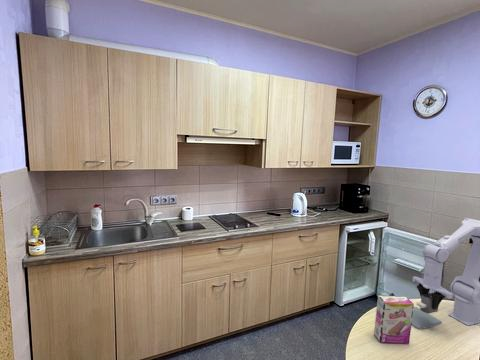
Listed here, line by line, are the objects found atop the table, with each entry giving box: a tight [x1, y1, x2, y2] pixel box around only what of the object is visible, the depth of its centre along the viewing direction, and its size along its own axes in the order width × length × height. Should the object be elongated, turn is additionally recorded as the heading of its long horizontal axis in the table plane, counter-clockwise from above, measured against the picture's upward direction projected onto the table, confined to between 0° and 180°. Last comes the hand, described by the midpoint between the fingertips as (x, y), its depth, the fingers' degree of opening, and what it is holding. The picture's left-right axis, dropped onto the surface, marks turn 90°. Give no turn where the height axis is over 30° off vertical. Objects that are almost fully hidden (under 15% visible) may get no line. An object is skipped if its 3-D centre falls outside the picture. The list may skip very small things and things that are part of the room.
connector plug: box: [416, 292, 439, 314], centre depth 103 cm, size 10×4×6 cm, turn 109°
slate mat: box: [411, 306, 443, 331], centre depth 110 cm, size 14×11×1 cm
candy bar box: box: [373, 295, 415, 345], centre depth 95 cm, size 11×5×16 cm, turn 89°
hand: (429, 305), depth 104 cm, fingers closed on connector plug, 4 cm apart
